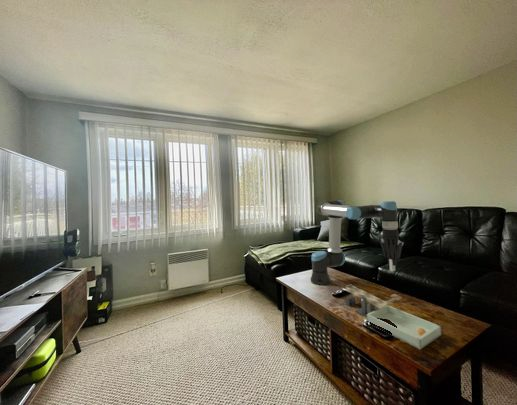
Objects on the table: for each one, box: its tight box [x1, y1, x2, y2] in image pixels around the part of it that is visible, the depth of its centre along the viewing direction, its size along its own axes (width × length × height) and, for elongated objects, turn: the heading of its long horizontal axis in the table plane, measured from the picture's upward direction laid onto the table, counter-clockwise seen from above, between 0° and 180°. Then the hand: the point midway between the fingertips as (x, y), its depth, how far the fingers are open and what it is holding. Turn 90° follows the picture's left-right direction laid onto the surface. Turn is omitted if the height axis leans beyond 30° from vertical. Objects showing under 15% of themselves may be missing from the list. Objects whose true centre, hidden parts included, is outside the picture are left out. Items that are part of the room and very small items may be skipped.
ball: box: [417, 328, 426, 336], centre depth 92 cm, size 3×3×3 cm
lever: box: [345, 284, 403, 309], centre depth 120 cm, size 22×18×3 cm
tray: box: [365, 304, 442, 350], centre depth 100 cm, size 24×18×4 cm
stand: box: [345, 293, 377, 318], centre depth 119 cm, size 18×10×9 cm, turn 27°
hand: (392, 270), depth 116 cm, fingers closed
